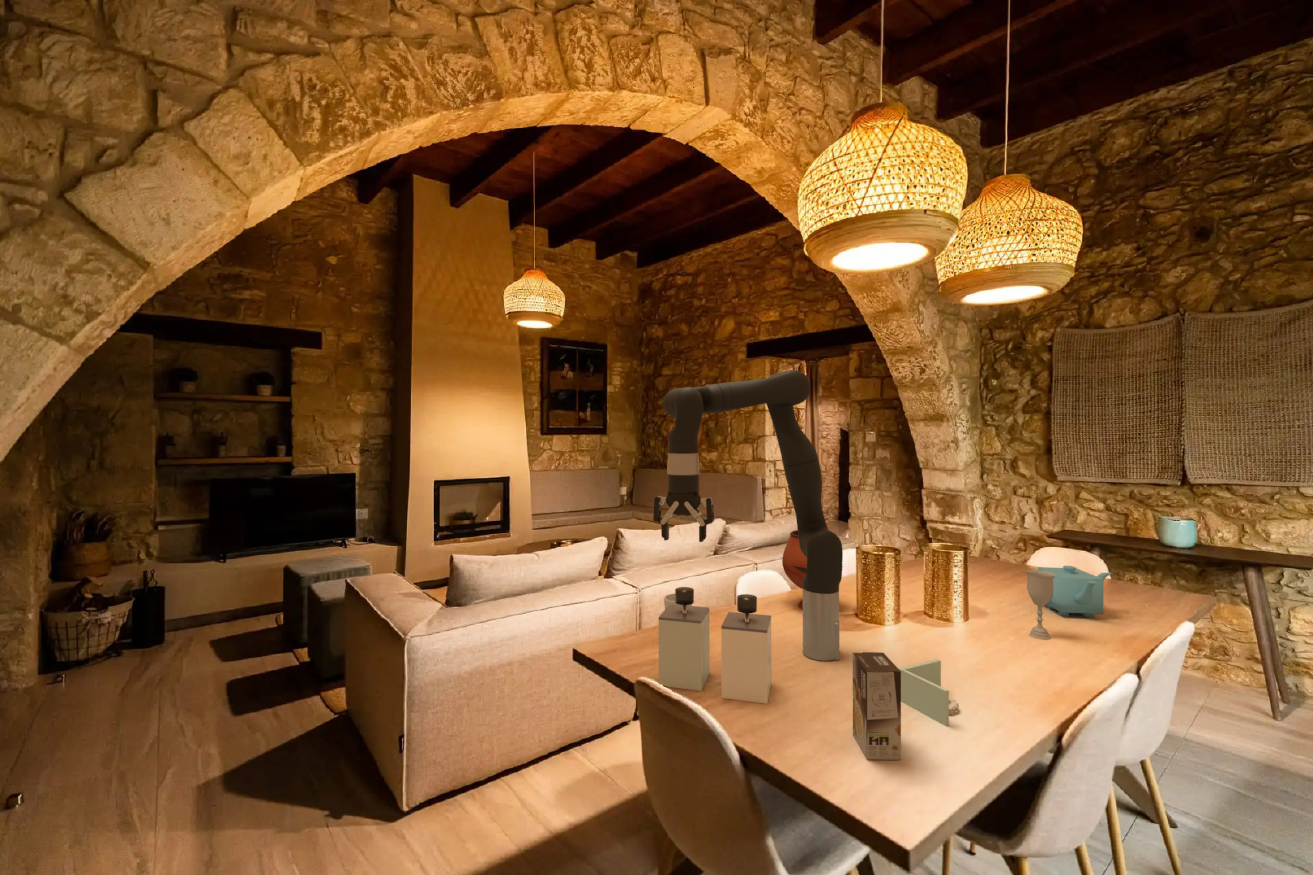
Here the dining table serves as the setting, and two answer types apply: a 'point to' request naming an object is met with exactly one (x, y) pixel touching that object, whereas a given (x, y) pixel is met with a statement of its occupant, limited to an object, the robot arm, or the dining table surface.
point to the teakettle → (1076, 591)
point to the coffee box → (877, 705)
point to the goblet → (795, 562)
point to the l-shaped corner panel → (927, 691)
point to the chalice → (1040, 597)
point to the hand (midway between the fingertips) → (683, 540)
